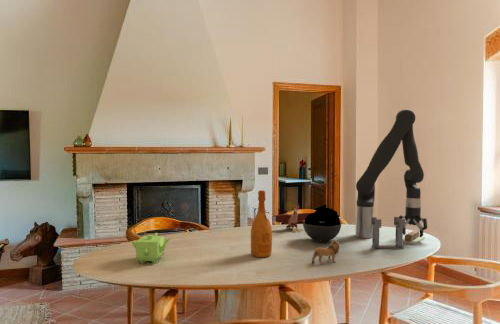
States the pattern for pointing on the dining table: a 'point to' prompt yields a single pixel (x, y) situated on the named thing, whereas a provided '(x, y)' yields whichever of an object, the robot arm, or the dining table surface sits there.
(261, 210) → the wine bottle
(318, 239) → the bowl of black rocks
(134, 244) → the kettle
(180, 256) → the dining table surface
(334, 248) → the lion figurine
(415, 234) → the walnut rail
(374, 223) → the cradle stand
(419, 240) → the sage mat
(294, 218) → the decorative bird
